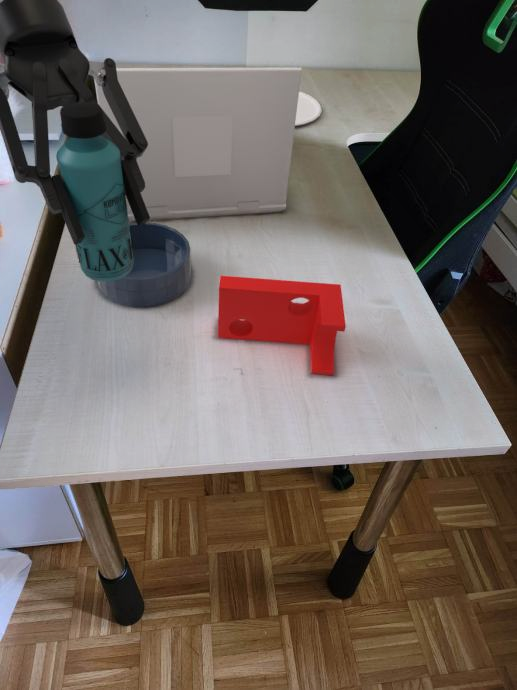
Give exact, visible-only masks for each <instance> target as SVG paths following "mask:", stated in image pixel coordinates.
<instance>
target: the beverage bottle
mask: <svg viewBox="0 0 517 690" xmlns="http://www.w3.org/2000/svg"><path fill="white" fill-rule="evenodd" d="M59 114H60V126H61V132H62V133H63V134H64V135H65V136H67V137H69V138H68V139H67V140H66V141H65V142H63V143H62V145H61V146H60V147H59V148H58V150H57V151H56V154H55V155H56V156H55V157H56V161H57V164H58V169H59V172H60V177H61V179H62V182H63V184H64V186H65V189H66V191H67V194H68V196H69V199H70V201H71V204H72V206H73V208H74V211H75V213H76V216H77V218H78V221H79V223H80V226H81V228H82V231H83V233H84V235H85V237H84V239H83V241H82V242H81V243H78V244H75V245H74V246H75V247H74V248H75V253H76V254H75V255H76V256H77V260H78V264H79V268H80V270H81V271H82V272H83V274H84V275H85V276H86V277H87V278H88V279H90V280H93V281H96V282H97V281H114V280H118V279H120V278H123V277H124V276H126V275H127V274H129V273H130V271H131V270H132V268H133V265H134V262H135V261H134V258H133V256H134V255H133V254H134V250H133V246H132V243H133V242H132V233H131V235H130V226H129V224H130V221H129V220H128V212H127V210H128V208H127V203H126V202H127V201H126V199H127V198H126V197H127V195H126V194H125V193H126V192H125V189H124V187H125V186H126V185H124V183H123V176H122V168H121V160H120V158H121V154H120V150H119V149H118V147H117V146H116V145H114V144H113V143H112V142H110V141H109V140H108V139H106V138H104V137H102V136H100V135H102V134H103V133H105V131H106V123H105V120H104V116H103V111H102V109H101V107H100V106H99V105H97V104H94V103H90V102H74V103H70V104H67V105H65V106H61V108H60V109H59ZM125 195H126V196H125ZM132 250H133V251H132ZM134 257H135V256H134Z"/></svg>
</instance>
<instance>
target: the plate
mask: <svg viewBox="0 0 517 690" xmlns="http://www.w3.org/2000/svg"><path fill="white" fill-rule="evenodd" d="M322 112H323V110H322V105H321V104H320V103H319V101H318V100H317V99H316V98H314V97H312V96H311V95H309V94H308V93H305V92H303V91H300V90H299V96H298V104H297V113H296V121H295V127H298V126H304V125H307V124H310V123H312V122H314V121H315V120H317V119H318V118H320V116H321V114H322Z"/></svg>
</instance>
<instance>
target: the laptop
mask: <svg viewBox="0 0 517 690" xmlns="http://www.w3.org/2000/svg"><path fill="white" fill-rule="evenodd" d="M116 70H117V78H118V82H119V84H120V86H121V88H122V90H123V92H124V94H125V96H126V98H127V100H128V102H129V104H130V106H131V109H132V111H133V113H134V115H135V117H136V119H137V121H138V123H139V125H140V127H141V129H142V131H143V133H144V135H145V138H146V140H147V142H148V146H147V148H146V150H145V151H144V153H143V154H142V156H141V157H138V158H137V159H136V160H137V163H138V166H139V168H140V171H141V174H142V176H143V179H144V181H145V188H144V190H143V191H142V192H140V193H141V196H142V198H143V201H144V203H145V206H146V208H147V211H148V214H149V216H150V219H149V220H148V221H159V220H173V219H190V218H205V217H206V218H207V217H221V216H237V215H254V214H267V213H268V214H269V213H279V212H282V211H285V210H286V209H287V195H288V187H289V178H290V170H291V161H292V153H293V147H294V146H293V145H294V137H295V136H294V135H295V128H296V126H295V121H296V113H297V104H298V96H299V91H300V87H301V78H302V70H303V68H302V67H301V66H299V67H296V66H295V67H293V66H291V67H116ZM93 80H94V86H95V87H94V88H95V93H96V102H97V103H98V104H99V105H100V107H101V108H102V109H103V111H104V112H105V113H106V115H107V116H108V117H109V118H110V120H111V121H112V122H113V124H114V125H115V126H116V127H117V129H118V130H119V131H120V133H121V134H122V135H123V133H122V131H121V129H120V127H119V125H118V123H117V121H116V118H115V116H114V114H113V112H112V110H111V108H110V106H109V104H108V102H107V100H106V98H105V96H104V93H103V90H102V86H98V85H97V83H96V81H95V79H94V78H93ZM123 136H124V135H123ZM124 138H125V137H124ZM125 196H126V195H125ZM126 201H127V202H126V203H127V208H128V210H127V212H128V220H129V222H136V220H135V218H134V215H133V213H132V210H131V208H130V205H129V203H128V200H127V199H126Z"/></svg>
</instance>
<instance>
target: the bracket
mask: <svg viewBox="0 0 517 690" xmlns="http://www.w3.org/2000/svg"><path fill="white" fill-rule="evenodd" d="M300 298H301V299H305V300H307V301H306V302H303V303H301V302H293V300H296V299H300ZM217 313H218V321H217V323H218V324H217V339H229V340H230V339H231V340H242V341H243V340H244V341H257V342H258V341H259V342H271V343H272V342H273V343H285V344H286V343H287V344H299V345H309V356H310V374H311V375H323V376H334V373H335V348H336V347H335V346H336V340H337V334H338V332H342V333H345V332H346V327H347V325H346V317H345V309H344V301H343V293H342V284H340V283H327V282H313V281H299V280H286V279H271V278H261V277H260V278H259V277H246V276H232V275H220V277H219V284H218V312H217Z"/></svg>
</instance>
